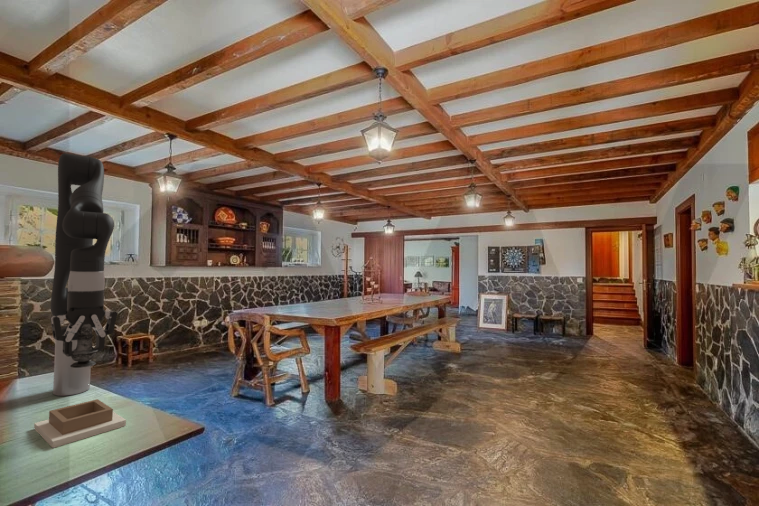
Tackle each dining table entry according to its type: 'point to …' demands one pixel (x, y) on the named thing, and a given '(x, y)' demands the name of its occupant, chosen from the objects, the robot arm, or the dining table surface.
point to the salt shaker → (84, 348)
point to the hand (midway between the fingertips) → (83, 353)
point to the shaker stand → (78, 422)
